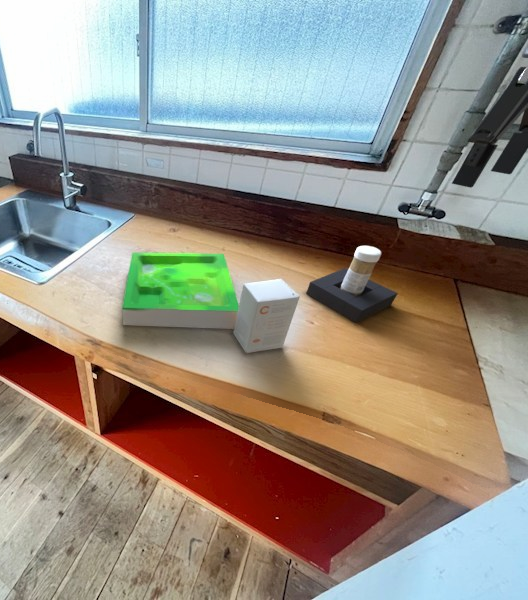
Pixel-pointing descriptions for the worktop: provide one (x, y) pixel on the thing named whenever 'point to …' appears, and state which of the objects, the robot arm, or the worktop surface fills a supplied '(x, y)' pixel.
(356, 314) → the dark grey square frame
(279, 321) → the small box
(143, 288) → the green board game box
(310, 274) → the worktop surface
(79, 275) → the worktop surface
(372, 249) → the sprinkles bottle
